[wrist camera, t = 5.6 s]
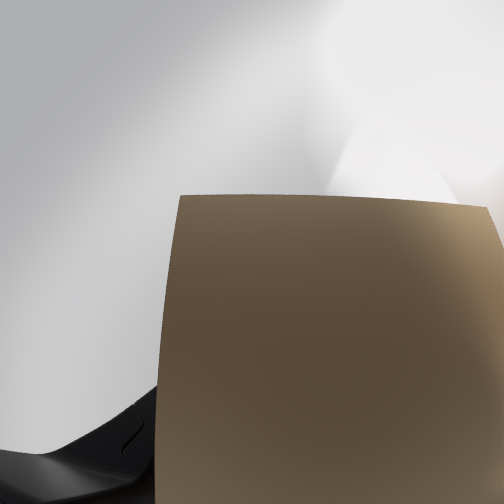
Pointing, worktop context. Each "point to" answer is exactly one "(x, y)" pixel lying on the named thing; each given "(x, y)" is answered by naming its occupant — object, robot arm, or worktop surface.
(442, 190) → the worktop surface
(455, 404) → the oak block
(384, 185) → the worktop surface
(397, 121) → the worktop surface
